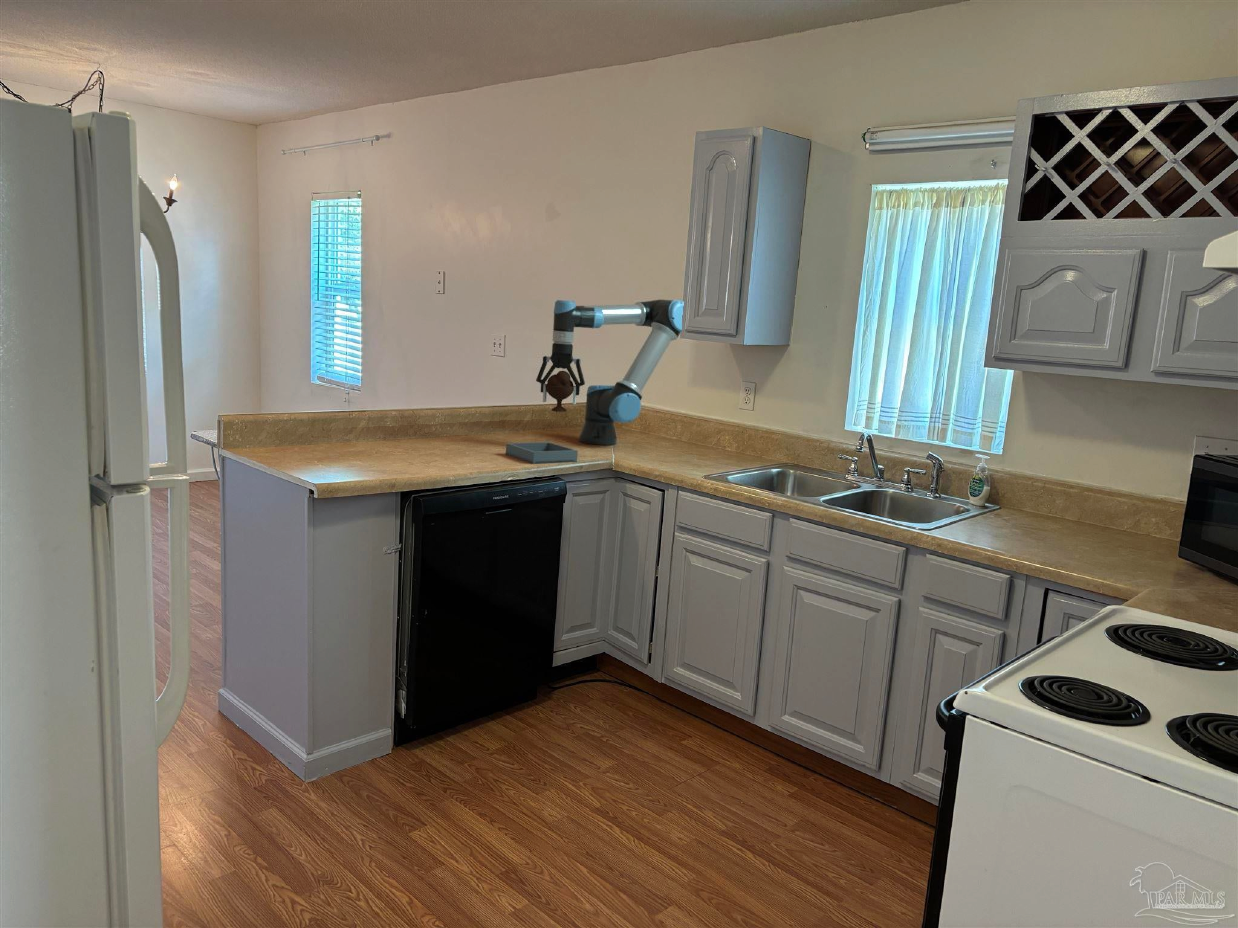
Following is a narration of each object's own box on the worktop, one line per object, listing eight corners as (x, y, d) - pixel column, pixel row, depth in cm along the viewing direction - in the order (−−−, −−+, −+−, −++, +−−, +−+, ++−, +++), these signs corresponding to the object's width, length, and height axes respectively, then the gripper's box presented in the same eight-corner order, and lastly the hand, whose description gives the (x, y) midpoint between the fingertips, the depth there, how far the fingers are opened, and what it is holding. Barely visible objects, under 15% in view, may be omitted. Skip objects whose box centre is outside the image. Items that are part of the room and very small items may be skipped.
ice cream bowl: (575, 410, 332) (577, 370, 329) (570, 413, 321) (572, 372, 318) (547, 408, 333) (549, 368, 330) (542, 411, 322) (543, 370, 319)
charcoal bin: (548, 452, 320) (549, 441, 320) (576, 461, 306) (577, 450, 306) (505, 454, 309) (506, 443, 308) (533, 464, 295) (533, 452, 295)
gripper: (529, 341, 320) (526, 401, 324) (592, 345, 317) (588, 406, 321) (534, 340, 327) (531, 399, 331) (595, 345, 325) (591, 404, 329)
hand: (559, 402), depth 326 cm, fingers closed on ice cream bowl, 11 cm apart
